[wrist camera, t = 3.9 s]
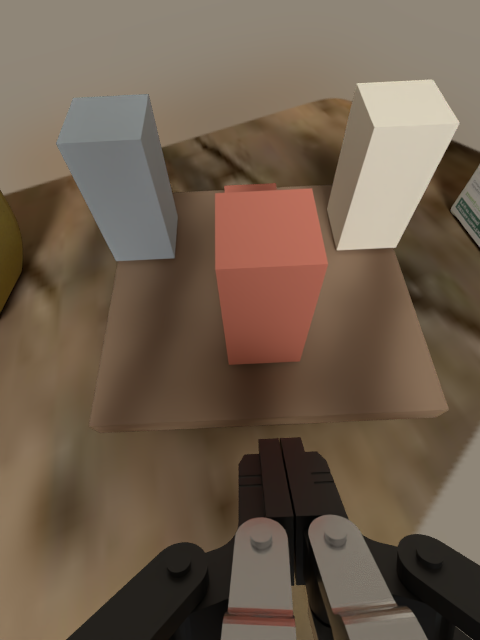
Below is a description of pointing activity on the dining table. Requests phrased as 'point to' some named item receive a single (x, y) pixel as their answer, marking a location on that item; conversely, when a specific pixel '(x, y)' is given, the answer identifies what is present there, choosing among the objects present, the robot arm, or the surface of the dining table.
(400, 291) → the brown wooden board
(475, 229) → the syrup box
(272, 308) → the red rectangular block
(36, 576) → the dining table surface
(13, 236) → the flower pot
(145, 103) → the grey rectangular block
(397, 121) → the cream rectangular block
